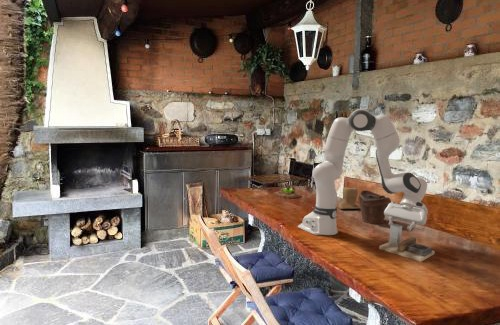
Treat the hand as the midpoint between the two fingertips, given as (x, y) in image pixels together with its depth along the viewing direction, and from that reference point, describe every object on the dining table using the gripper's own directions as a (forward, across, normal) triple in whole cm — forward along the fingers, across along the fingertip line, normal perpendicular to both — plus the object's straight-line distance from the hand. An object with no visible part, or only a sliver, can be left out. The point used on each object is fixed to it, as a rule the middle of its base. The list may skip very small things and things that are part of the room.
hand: (399, 227), depth 178 cm
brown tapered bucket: (-16, -31, +30) cm, 46 cm away
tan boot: (-26, -59, +40) cm, 76 cm away
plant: (-23, -112, +37) cm, 120 cm away
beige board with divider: (+9, +6, +5) cm, 12 cm away
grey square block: (+8, 0, +4) cm, 9 cm away
